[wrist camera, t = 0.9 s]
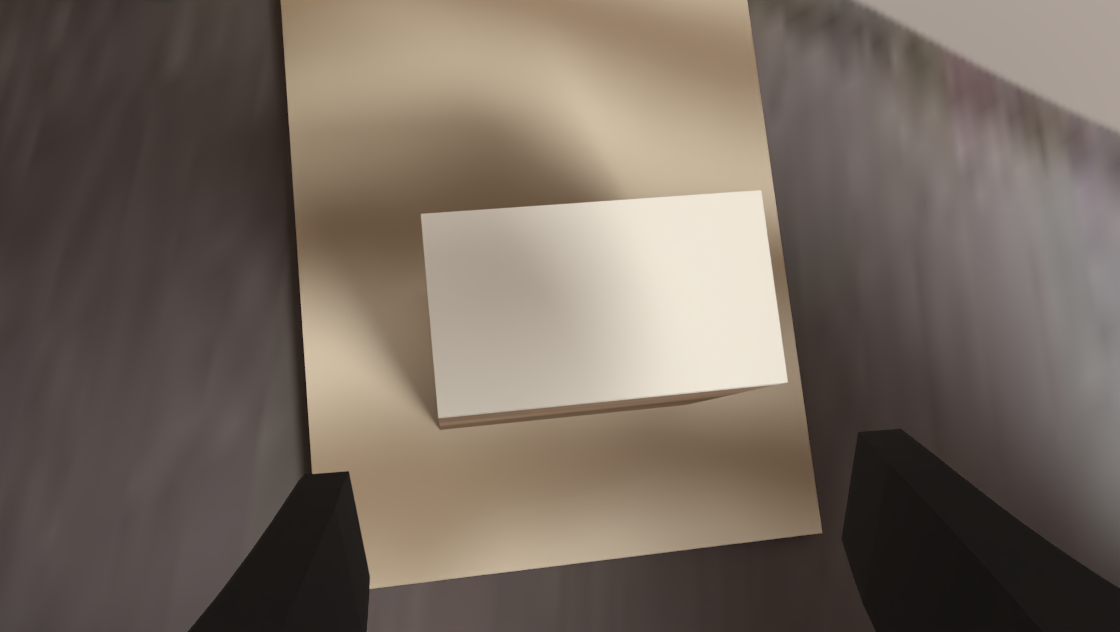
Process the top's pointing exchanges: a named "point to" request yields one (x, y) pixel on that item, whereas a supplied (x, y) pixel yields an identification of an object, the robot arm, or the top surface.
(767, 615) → the top surface
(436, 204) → the board
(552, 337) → the beige rectangular block
